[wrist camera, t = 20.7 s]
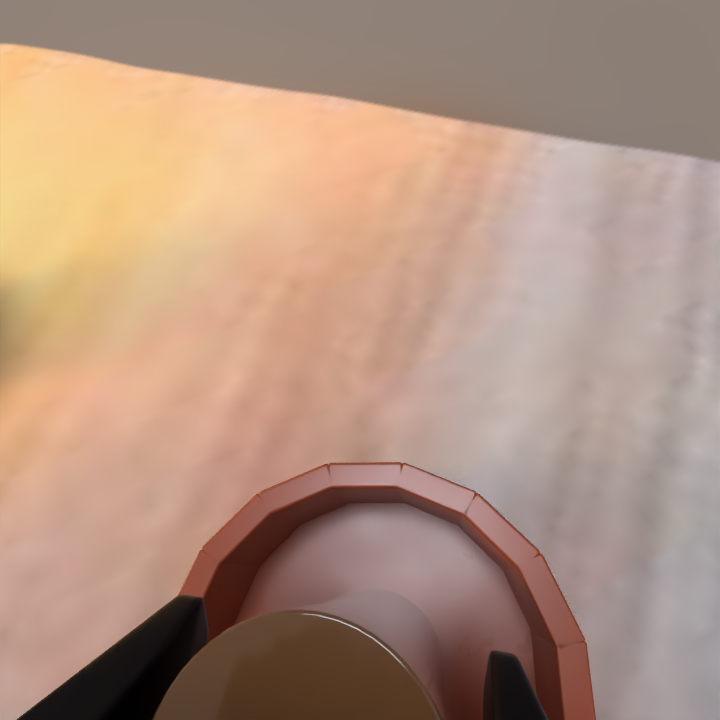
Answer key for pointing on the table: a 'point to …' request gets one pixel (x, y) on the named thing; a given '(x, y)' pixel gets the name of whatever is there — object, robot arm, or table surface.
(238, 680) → the spice jar
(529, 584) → the pot
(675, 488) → the table surface
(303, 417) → the table surface
